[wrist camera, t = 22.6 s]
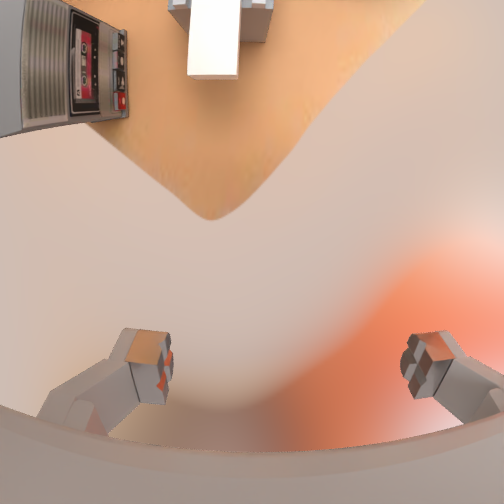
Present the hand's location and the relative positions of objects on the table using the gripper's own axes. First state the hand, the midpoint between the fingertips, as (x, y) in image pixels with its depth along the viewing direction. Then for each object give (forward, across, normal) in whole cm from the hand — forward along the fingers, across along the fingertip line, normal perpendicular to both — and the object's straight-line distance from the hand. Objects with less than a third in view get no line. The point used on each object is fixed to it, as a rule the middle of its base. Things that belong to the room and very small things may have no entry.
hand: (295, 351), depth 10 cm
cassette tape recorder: (+39, -23, +14) cm, 47 cm away
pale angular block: (+23, -5, +21) cm, 32 cm away
